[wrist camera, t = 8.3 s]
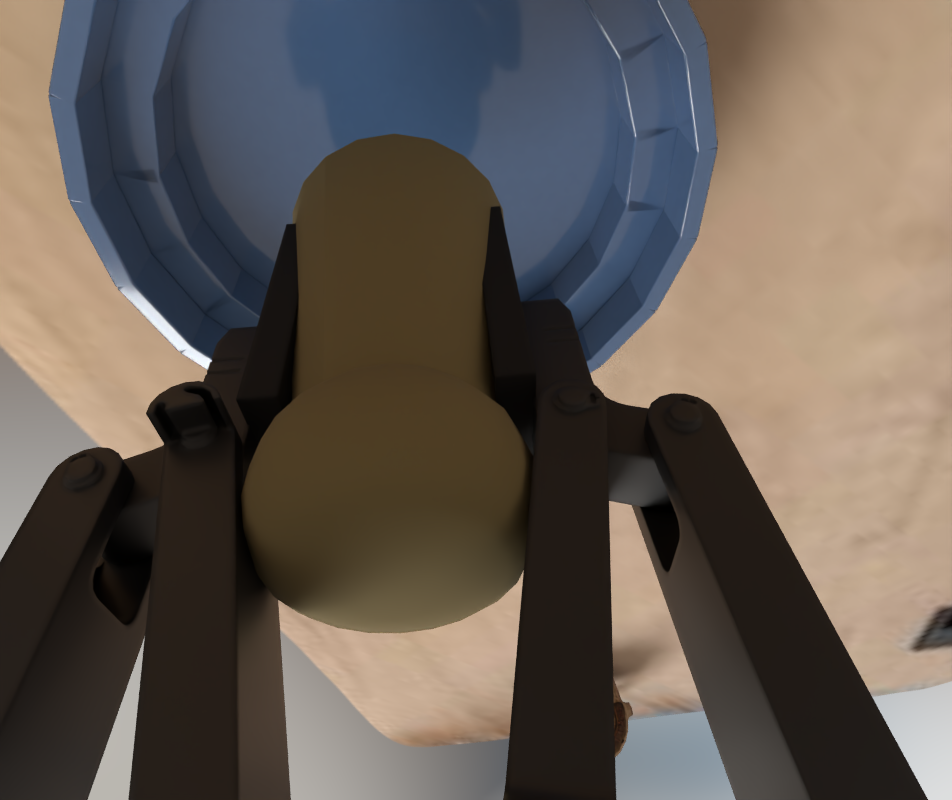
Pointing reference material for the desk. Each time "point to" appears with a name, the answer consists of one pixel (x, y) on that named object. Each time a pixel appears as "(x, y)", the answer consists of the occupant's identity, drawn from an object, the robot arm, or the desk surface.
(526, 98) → the bowl
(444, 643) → the desk surface
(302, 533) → the olive peg doll
